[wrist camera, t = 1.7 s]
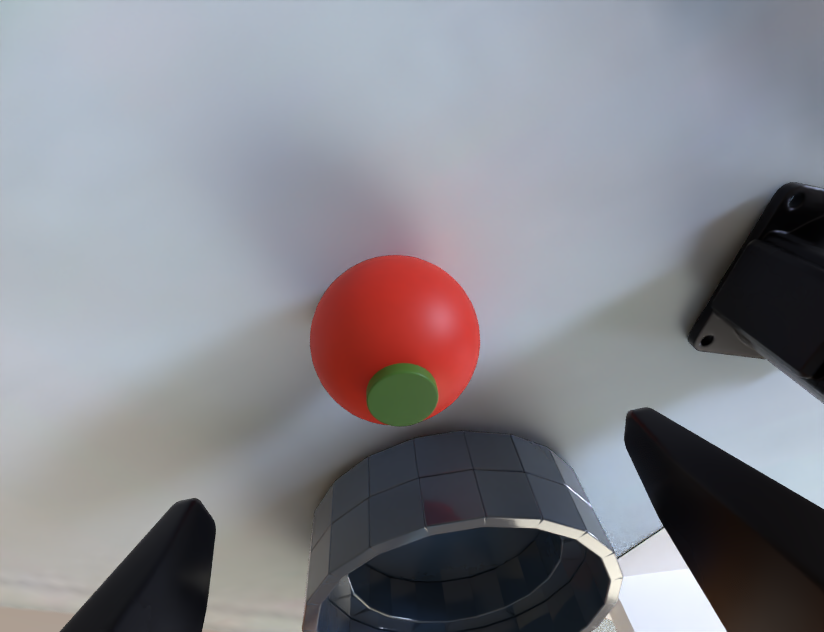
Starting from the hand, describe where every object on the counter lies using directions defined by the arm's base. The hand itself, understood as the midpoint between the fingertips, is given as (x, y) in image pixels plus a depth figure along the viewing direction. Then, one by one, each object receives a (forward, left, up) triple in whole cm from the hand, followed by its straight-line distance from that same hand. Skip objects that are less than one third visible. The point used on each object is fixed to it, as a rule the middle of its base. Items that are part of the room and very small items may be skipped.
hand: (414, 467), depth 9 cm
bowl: (-5, +12, -7) cm, 15 cm away
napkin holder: (-23, +18, -8) cm, 30 cm away
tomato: (0, 0, -7) cm, 7 cm away
